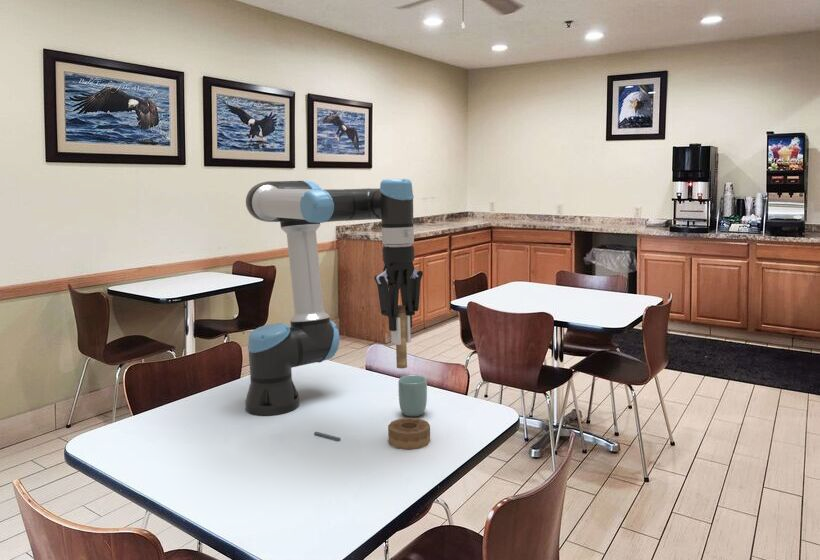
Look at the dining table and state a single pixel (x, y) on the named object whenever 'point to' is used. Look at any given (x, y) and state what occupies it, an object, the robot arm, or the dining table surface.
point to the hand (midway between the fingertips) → (401, 342)
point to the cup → (412, 395)
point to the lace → (327, 436)
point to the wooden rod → (402, 339)
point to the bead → (409, 433)
